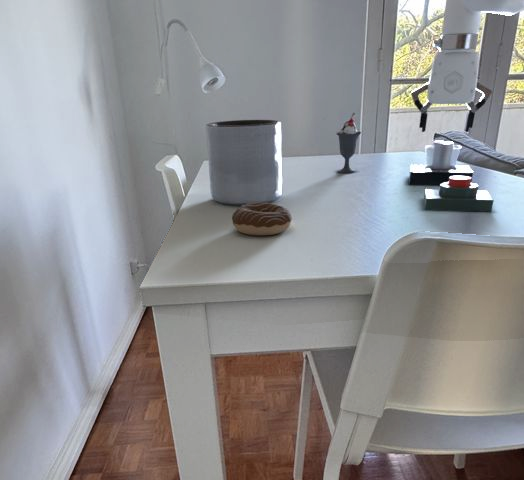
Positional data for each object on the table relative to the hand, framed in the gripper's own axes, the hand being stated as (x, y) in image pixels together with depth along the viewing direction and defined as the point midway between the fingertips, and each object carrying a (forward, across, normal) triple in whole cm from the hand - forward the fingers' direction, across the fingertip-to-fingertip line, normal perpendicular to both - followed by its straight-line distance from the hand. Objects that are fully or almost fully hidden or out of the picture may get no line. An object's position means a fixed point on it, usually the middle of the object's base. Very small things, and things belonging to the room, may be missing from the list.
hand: (444, 131), depth 111 cm
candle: (+12, +1, +14) cm, 18 cm away
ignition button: (+8, +2, -26) cm, 27 cm away
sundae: (+12, -24, +13) cm, 29 cm away
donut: (+12, -32, -49) cm, 60 cm away
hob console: (+11, 0, 0) cm, 11 cm away
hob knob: (+8, 0, 0) cm, 8 cm away
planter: (+12, -42, -25) cm, 50 cm away
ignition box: (+11, +2, -26) cm, 29 cm away
